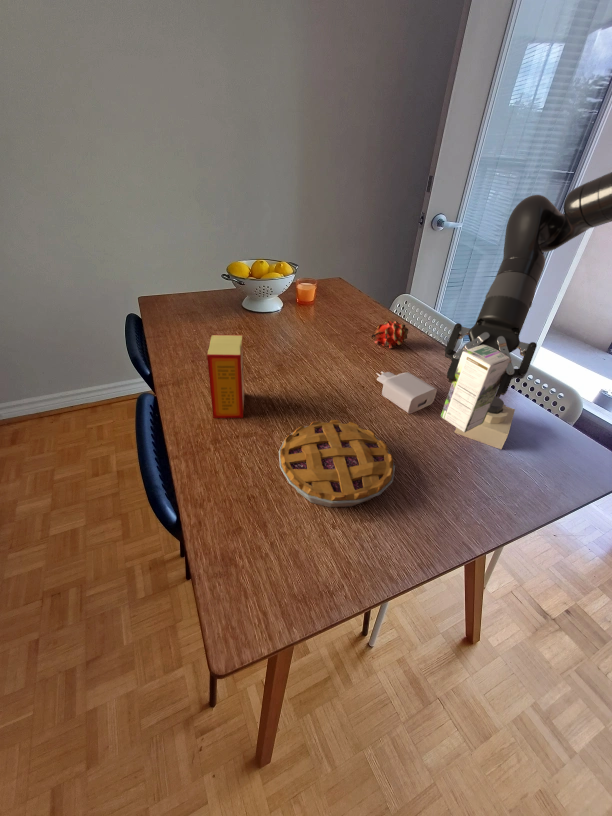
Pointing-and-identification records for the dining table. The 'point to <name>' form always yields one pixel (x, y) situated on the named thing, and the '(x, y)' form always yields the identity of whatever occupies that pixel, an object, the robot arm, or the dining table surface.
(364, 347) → the dining table surface
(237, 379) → the baking soda box
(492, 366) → the syrup box
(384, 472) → the pie
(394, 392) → the charger
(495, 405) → the lid button
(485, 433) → the beige faceted block
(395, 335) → the dragon fruit
